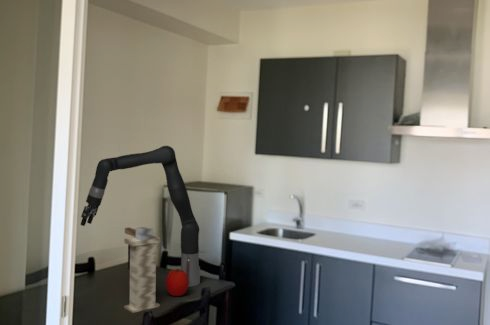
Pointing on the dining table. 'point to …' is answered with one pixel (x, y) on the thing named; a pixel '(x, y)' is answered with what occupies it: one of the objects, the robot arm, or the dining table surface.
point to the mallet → (140, 233)
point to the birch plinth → (142, 274)
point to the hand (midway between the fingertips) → (85, 224)
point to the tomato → (177, 282)
